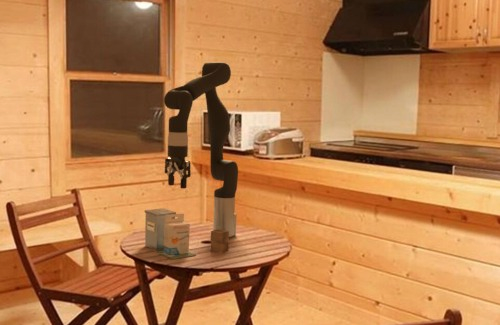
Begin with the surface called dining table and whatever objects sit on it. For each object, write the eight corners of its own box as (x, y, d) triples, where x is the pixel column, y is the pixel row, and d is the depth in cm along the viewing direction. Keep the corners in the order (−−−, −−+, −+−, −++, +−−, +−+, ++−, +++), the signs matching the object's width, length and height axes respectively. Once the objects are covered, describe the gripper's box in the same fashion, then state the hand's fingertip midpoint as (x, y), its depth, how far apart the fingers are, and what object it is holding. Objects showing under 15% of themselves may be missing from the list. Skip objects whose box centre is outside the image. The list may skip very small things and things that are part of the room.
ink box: (169, 255, 217) (170, 217, 216) (163, 252, 222) (164, 214, 220) (189, 253, 222) (190, 215, 221) (183, 250, 226) (184, 213, 225)
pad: (178, 248, 230) (178, 247, 230) (195, 255, 221) (195, 254, 221) (156, 252, 223) (156, 251, 223) (173, 259, 214) (173, 258, 214)
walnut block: (218, 248, 233) (219, 229, 232) (228, 250, 230) (228, 231, 229) (210, 251, 228) (211, 231, 228) (220, 253, 226) (221, 233, 225)
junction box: (163, 243, 238) (163, 208, 236) (175, 248, 230) (176, 212, 229) (144, 246, 232) (144, 210, 231) (156, 251, 225) (157, 214, 223)
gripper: (196, 145, 215) (196, 188, 217) (176, 142, 226) (175, 183, 228) (179, 146, 210) (179, 190, 212) (159, 142, 221) (158, 185, 223)
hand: (177, 186), depth 220 cm, fingers open, 8 cm apart
